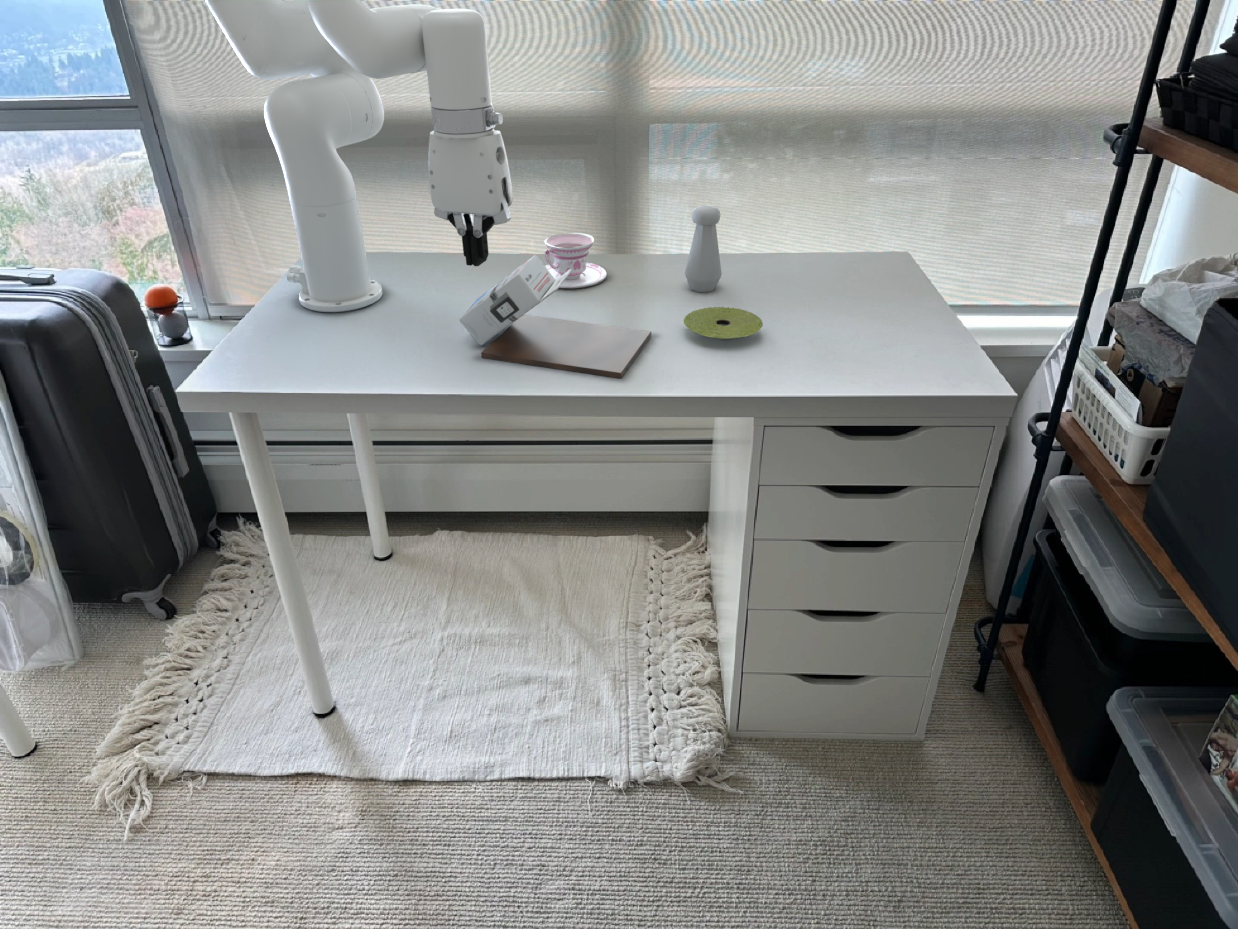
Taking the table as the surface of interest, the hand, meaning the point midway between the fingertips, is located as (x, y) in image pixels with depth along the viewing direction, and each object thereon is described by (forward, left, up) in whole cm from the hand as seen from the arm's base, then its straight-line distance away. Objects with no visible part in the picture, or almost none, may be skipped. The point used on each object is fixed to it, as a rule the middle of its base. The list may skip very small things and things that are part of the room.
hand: (477, 262), depth 117 cm
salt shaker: (+25, +28, -11) cm, 39 cm away
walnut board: (+13, 0, -11) cm, 17 cm away
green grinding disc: (+32, +11, -11) cm, 36 cm away
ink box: (-1, 0, -9) cm, 9 cm away
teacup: (+3, +26, -11) cm, 28 cm away
